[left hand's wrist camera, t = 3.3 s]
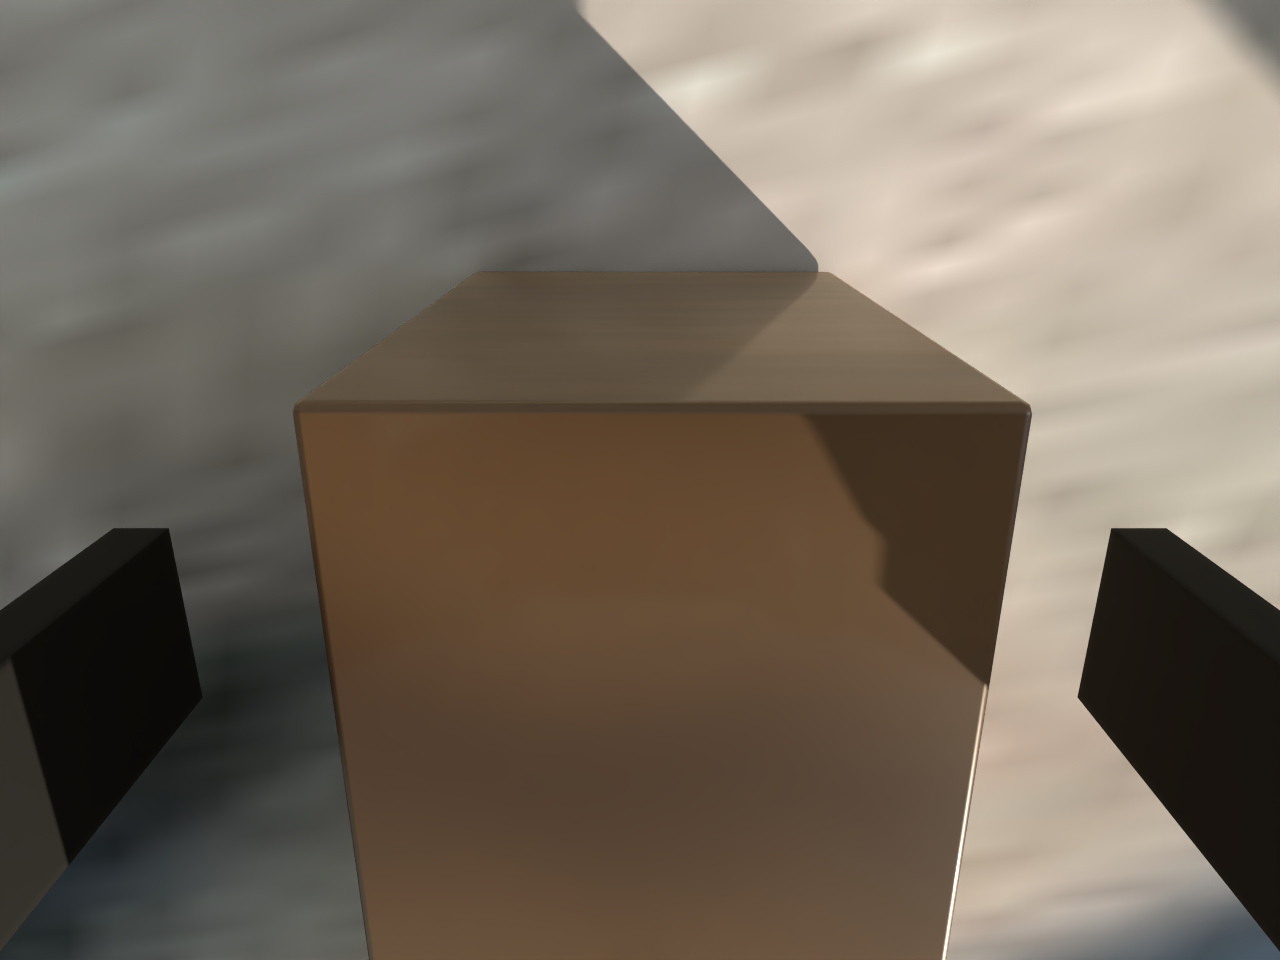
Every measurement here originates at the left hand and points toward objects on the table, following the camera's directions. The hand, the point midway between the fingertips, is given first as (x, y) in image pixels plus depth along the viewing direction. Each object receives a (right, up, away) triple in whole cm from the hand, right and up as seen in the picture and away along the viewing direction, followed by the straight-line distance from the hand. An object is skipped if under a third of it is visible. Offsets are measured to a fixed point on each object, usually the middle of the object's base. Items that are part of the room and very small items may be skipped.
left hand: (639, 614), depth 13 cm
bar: (0, -23, +12) cm, 26 cm away
